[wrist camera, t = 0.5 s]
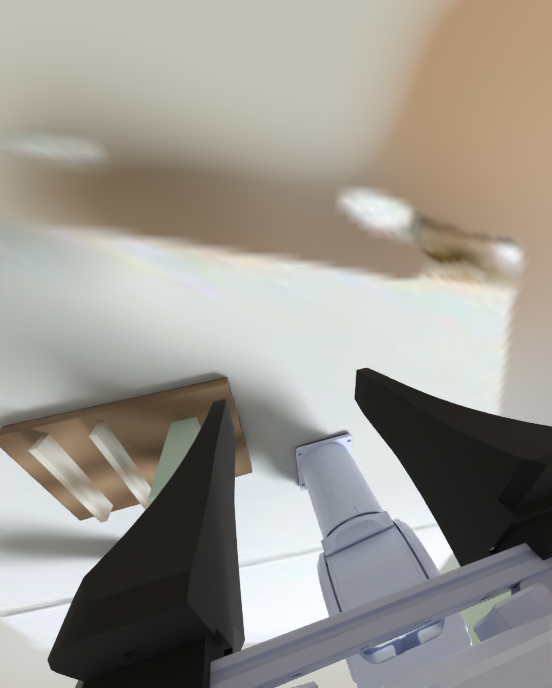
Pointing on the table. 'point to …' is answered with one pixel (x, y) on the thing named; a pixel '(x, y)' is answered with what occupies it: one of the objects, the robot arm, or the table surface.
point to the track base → (112, 447)
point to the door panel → (174, 452)
